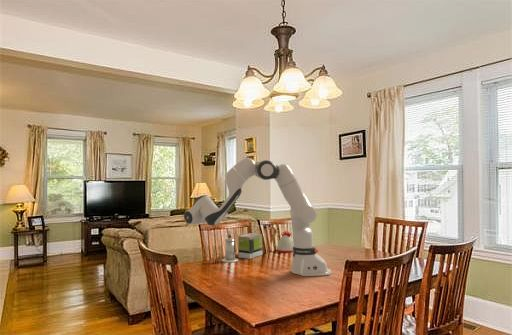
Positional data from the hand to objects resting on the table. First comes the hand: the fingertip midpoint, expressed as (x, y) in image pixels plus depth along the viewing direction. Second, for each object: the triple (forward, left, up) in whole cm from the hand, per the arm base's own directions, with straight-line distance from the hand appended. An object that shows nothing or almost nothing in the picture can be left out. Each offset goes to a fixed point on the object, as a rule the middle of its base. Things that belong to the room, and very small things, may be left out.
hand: (219, 213), depth 214 cm
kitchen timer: (-42, -44, -32) cm, 69 cm away
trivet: (-5, -11, -32) cm, 34 cm away
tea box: (-17, -25, -32) cm, 44 cm away
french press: (-6, -12, -31) cm, 34 cm away
